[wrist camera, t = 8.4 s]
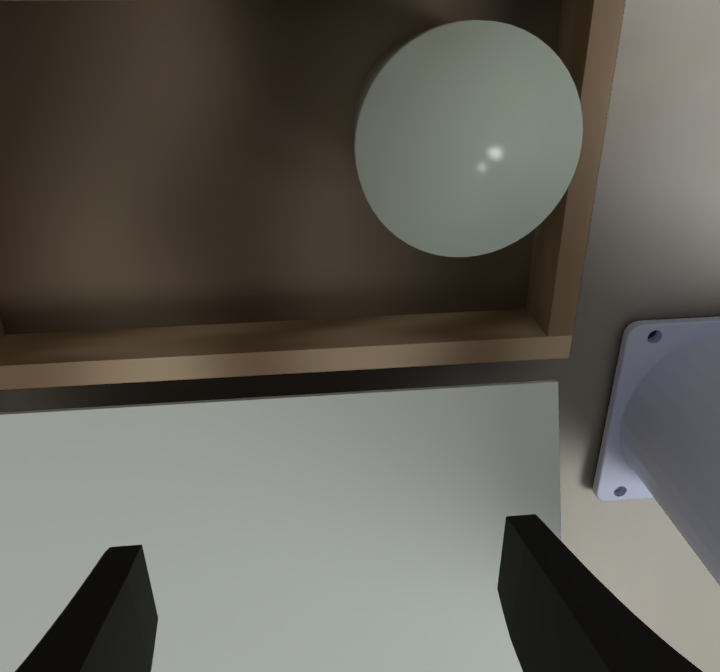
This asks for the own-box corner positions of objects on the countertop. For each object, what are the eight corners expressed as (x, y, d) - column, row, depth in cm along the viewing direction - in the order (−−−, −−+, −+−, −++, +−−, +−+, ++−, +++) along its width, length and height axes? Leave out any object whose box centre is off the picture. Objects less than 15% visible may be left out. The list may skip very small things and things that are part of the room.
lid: (563, 696, 21) (558, 688, 21) (558, 381, 20) (553, 379, 20) (3, 752, 20) (10, 743, 20) (-30, 416, 19) (-23, 413, 19)
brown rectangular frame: (588, -37, 18) (697, -54, 13) (516, 507, 27) (565, 617, 22) (-125, -34, 16) (-300, -52, 11) (51, 542, 25) (-6, 668, 20)
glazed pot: (535, 16, 18) (599, 18, 14) (516, 208, 20) (566, 252, 17) (340, 19, 17) (354, 21, 14) (344, 214, 20) (357, 261, 16)
